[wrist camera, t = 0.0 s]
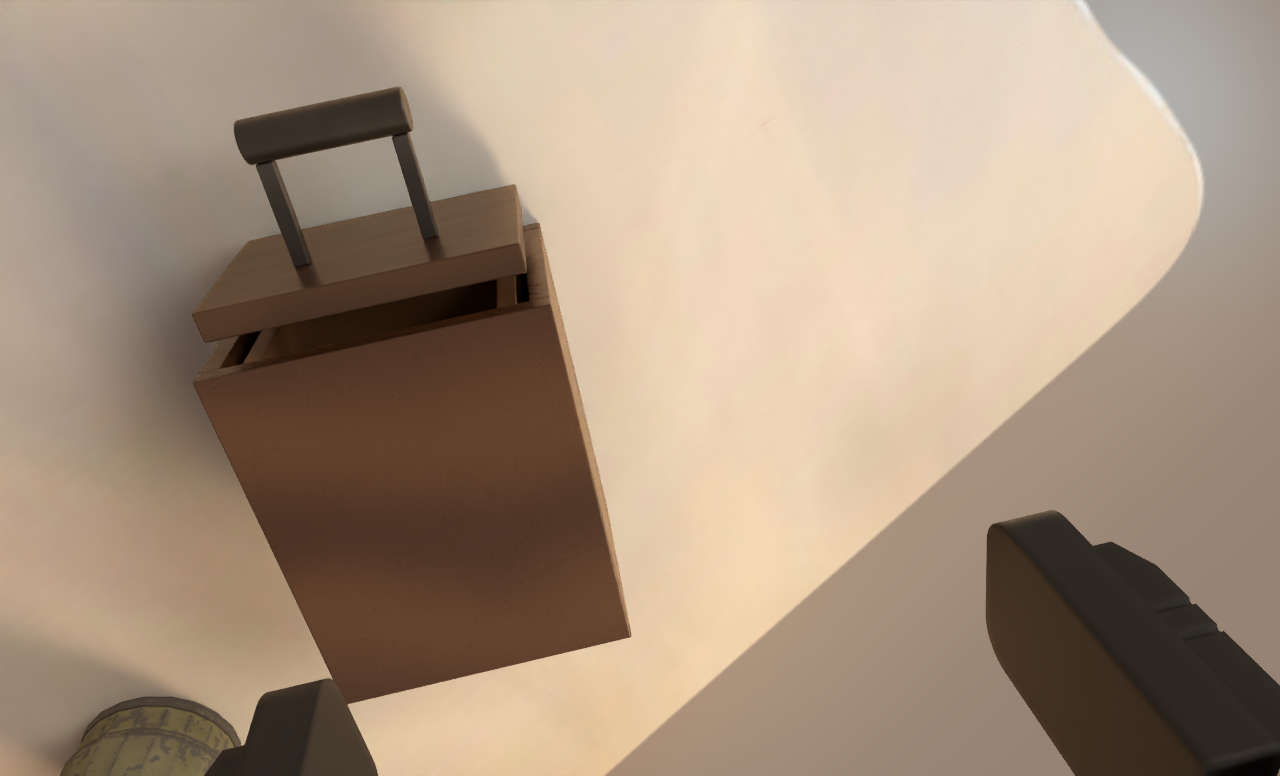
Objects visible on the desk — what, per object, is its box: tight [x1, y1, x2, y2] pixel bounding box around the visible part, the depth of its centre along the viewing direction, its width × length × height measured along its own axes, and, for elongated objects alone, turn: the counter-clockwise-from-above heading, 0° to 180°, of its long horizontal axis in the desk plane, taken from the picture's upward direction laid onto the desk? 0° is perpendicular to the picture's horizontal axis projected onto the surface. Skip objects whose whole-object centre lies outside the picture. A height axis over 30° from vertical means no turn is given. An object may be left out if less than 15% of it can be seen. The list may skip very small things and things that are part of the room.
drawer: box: [192, 87, 528, 364], centre depth 38 cm, size 21×12×8 cm, turn 10°
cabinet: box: [193, 223, 631, 704], centre depth 41 cm, size 17×13×10 cm
